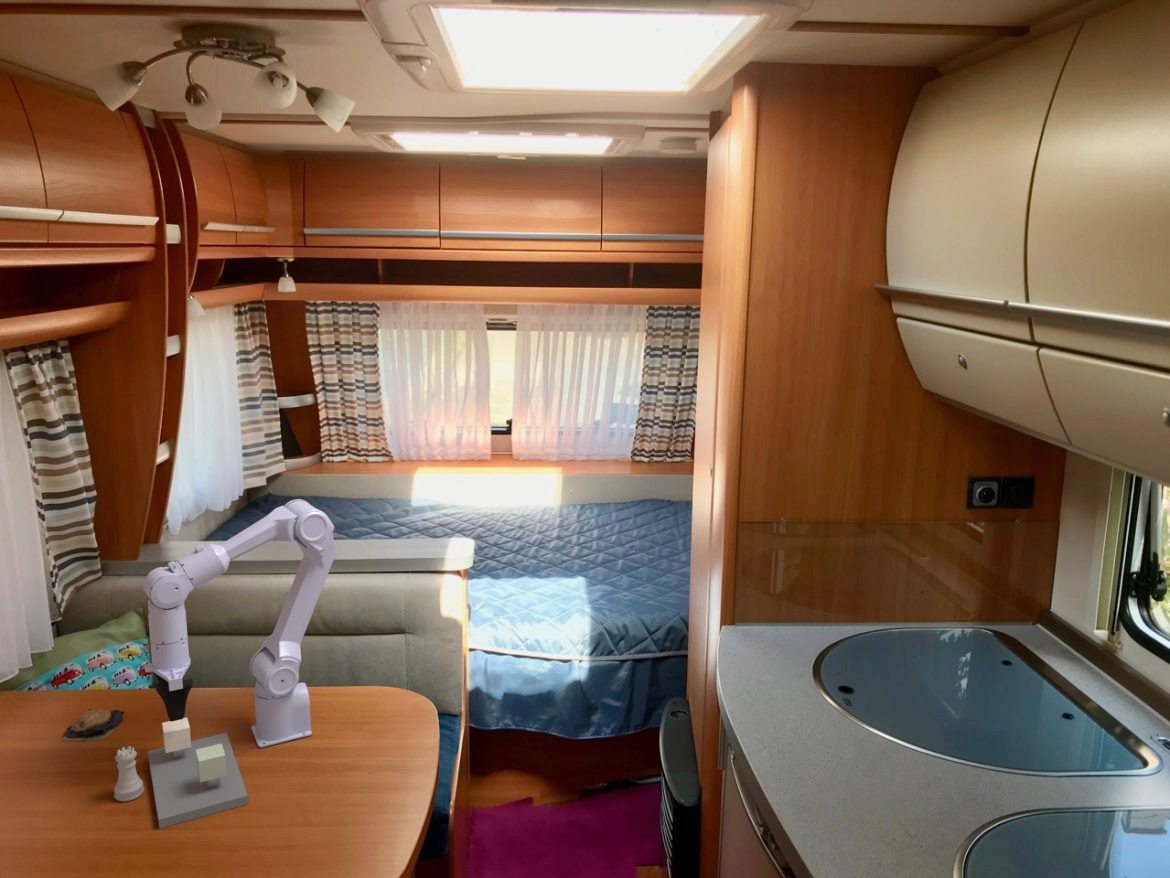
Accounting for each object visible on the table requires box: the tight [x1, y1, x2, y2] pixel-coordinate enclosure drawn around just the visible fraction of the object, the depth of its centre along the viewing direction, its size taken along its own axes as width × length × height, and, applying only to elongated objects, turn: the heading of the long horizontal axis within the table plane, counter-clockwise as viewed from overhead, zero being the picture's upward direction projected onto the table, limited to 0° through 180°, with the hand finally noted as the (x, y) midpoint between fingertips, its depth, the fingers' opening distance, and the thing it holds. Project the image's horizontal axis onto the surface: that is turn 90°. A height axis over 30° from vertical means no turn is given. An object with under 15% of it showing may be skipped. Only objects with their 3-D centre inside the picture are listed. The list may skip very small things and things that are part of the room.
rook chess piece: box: [113, 745, 145, 803], centre depth 140 cm, size 4×4×8 cm
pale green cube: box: [196, 744, 227, 782], centre depth 141 cm, size 4×4×4 cm
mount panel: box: [147, 732, 249, 829], centre depth 145 cm, size 13×22×4 cm, turn 31°
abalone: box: [61, 708, 125, 743], centre depth 161 cm, size 11×8×4 cm
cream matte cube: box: [161, 717, 192, 753], centre depth 149 cm, size 4×4×4 cm
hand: (174, 711), depth 148 cm, fingers open, 6 cm apart
